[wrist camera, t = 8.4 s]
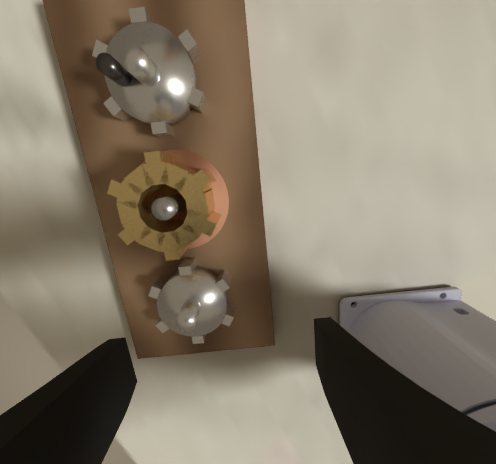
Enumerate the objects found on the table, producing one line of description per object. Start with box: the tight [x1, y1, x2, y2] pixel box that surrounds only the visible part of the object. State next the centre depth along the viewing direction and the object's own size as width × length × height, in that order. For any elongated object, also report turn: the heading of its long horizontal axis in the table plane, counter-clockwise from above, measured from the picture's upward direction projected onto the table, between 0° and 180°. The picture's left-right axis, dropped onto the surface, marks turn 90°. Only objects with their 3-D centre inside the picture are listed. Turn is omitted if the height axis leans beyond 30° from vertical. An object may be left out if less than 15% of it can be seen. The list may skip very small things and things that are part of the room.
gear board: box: [43, 0, 275, 359], centre depth 16 cm, size 11×24×1 cm, turn 6°
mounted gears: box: [92, 7, 235, 344], centre depth 14 cm, size 6×20×3 cm, turn 6°
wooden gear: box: [107, 151, 221, 261], centre depth 14 cm, size 6×6×3 cm
